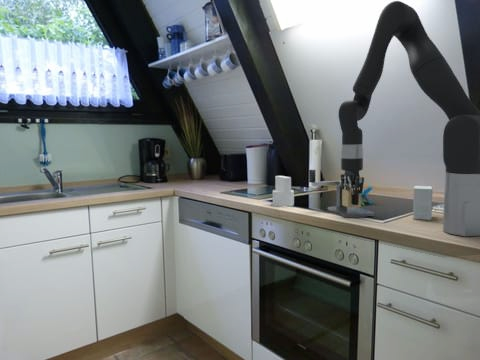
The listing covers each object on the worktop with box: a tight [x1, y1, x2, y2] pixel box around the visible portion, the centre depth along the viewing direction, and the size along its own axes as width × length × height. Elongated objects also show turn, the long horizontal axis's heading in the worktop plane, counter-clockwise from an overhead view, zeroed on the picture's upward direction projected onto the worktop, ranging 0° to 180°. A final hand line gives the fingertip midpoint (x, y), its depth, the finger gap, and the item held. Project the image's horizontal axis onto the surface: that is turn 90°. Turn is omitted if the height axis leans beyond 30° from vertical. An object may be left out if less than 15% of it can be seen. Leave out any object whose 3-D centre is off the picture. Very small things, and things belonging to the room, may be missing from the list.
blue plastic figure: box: [361, 185, 373, 206], centre depth 149 cm, size 11×6×10 cm
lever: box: [308, 169, 342, 187], centre depth 136 cm, size 15×3×6 cm, turn 99°
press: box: [327, 185, 375, 219], centre depth 132 cm, size 16×11×9 cm
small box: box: [412, 185, 433, 221], centre depth 121 cm, size 8×6×10 cm
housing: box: [342, 188, 362, 208], centre depth 130 cm, size 5×5×7 cm
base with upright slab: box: [272, 175, 295, 207], centre depth 151 cm, size 9×9×12 cm
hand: (351, 203), depth 130 cm, fingers closed on housing, 5 cm apart
